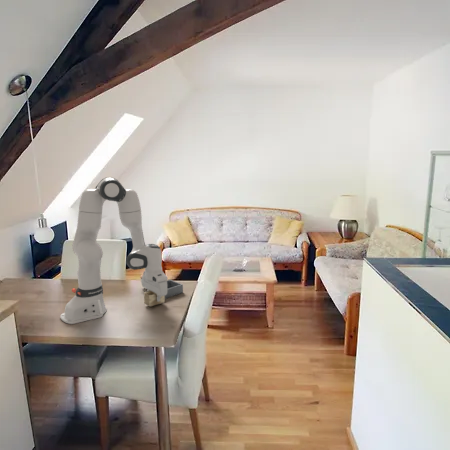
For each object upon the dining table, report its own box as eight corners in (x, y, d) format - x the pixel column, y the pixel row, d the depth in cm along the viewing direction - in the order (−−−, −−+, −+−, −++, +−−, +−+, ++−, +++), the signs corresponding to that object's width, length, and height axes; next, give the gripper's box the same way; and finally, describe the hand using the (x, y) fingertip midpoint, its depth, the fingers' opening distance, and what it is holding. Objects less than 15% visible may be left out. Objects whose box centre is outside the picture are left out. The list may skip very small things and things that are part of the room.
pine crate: (150, 306, 209) (149, 295, 208) (144, 303, 213) (143, 292, 212) (164, 302, 215) (164, 291, 214) (158, 299, 219) (158, 288, 218)
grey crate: (160, 300, 221) (160, 291, 220) (148, 294, 230) (148, 286, 229) (183, 292, 231) (182, 284, 230) (170, 287, 240) (170, 279, 239)
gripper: (138, 270, 217) (139, 295, 219) (158, 280, 202) (159, 306, 204) (148, 268, 221) (149, 292, 223) (169, 277, 206) (169, 303, 208)
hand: (154, 299), depth 214 cm, fingers closed on pine crate, 6 cm apart
